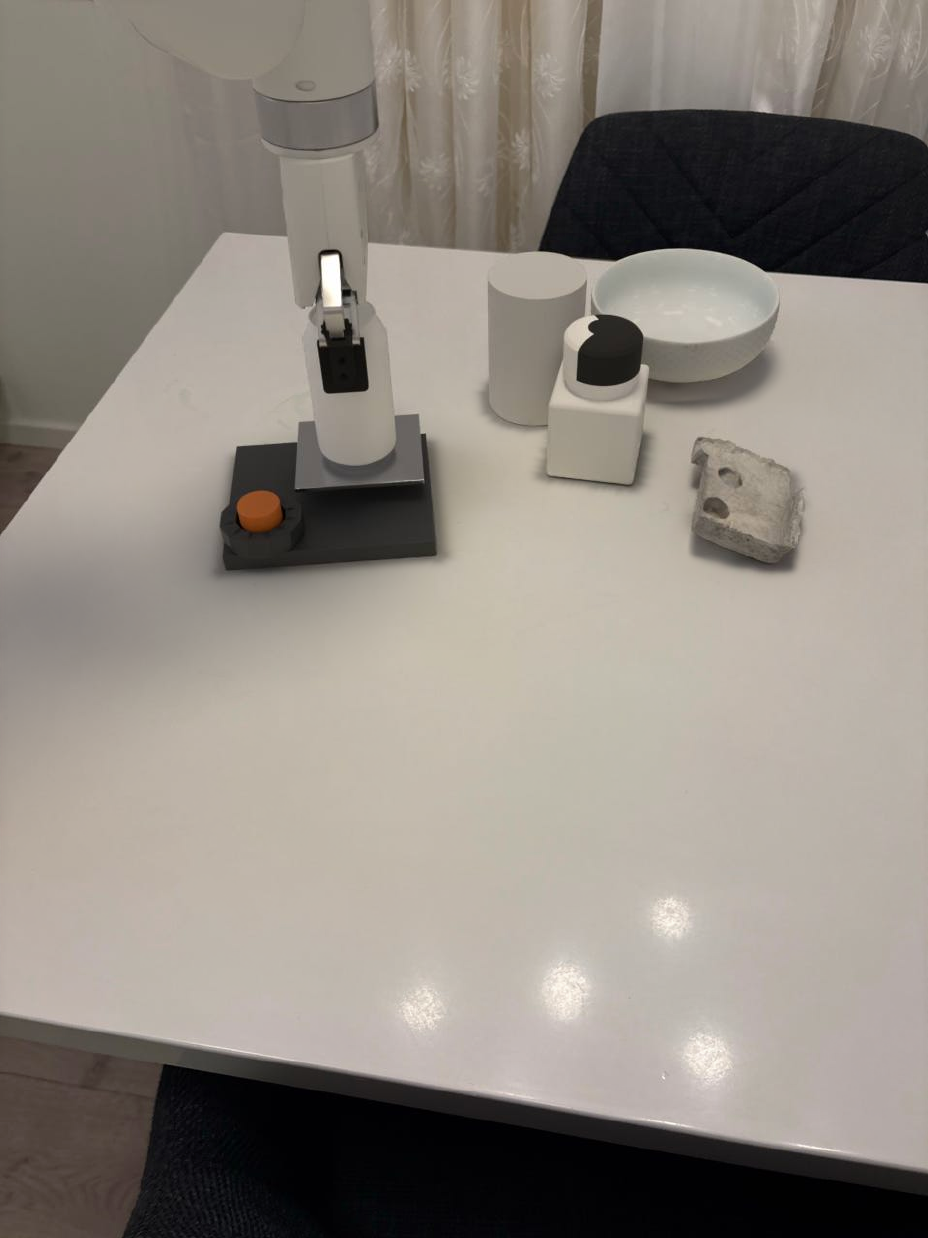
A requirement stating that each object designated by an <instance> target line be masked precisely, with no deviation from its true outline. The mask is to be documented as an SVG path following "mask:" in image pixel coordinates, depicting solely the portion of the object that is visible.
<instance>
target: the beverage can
mask: <svg viewBox="0 0 928 1238" xmlns="http://www.w3.org/2000/svg"><path fill="white" fill-rule="evenodd" d="M344 318H345V319H346V318H348V319H349V321H350V309H349V308H344ZM358 318H359V331H360V337H364V343H365V352H366V362H367V371H368V381H369V388H368V390H367V391H364V392H350V393H335V394H327V393H325V392H324V390H323V384H322V376H321V369H320V362H319V355H318V348H317V340H319V337H318V324H317V312H316V305H313V306H312V308H311V309H310V310H309V312H308V314H307V319H308V322H307V324H306V327H305V329H304V332H303V334H302V341H301V342H302V346H303V347H302V348H303V353H304V361H305V368H306V373H307V380H308V386H309V393H310V398H311V405H312V410H313V411H312V413H313V419H314V421H315V425H316V432H317V438H318V443H319V447H320V450H321V452H322V454H323V455H324V456H325V457H327V458H328V459H329V460H331V461H333V462H336V463H339V464H343V465H347V466H364V465H368V464H371V463H374V462H376V461H378V460H380V459H382V458H384V457H385V456H386V455H388V454H389V453H390V452H391V451H392V449H393V448H394V446H395V443H396V428H395V416H394V415H395V405H394V393H393V384H392V383H393V382H392V374H391V373H392V371H391V362H390V350H389V339H388V337H389V336H388V331H387V328H386V326H385V325H384V323H383V322H382V320H381V319H380V318H379V316H378V315H377V309H376V307H375V306H374V304H372V303H371V302H370V301H367V300H366V301H364V302H363V303H362V304H360V305H358ZM350 323H351V322H350Z"/></svg>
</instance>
